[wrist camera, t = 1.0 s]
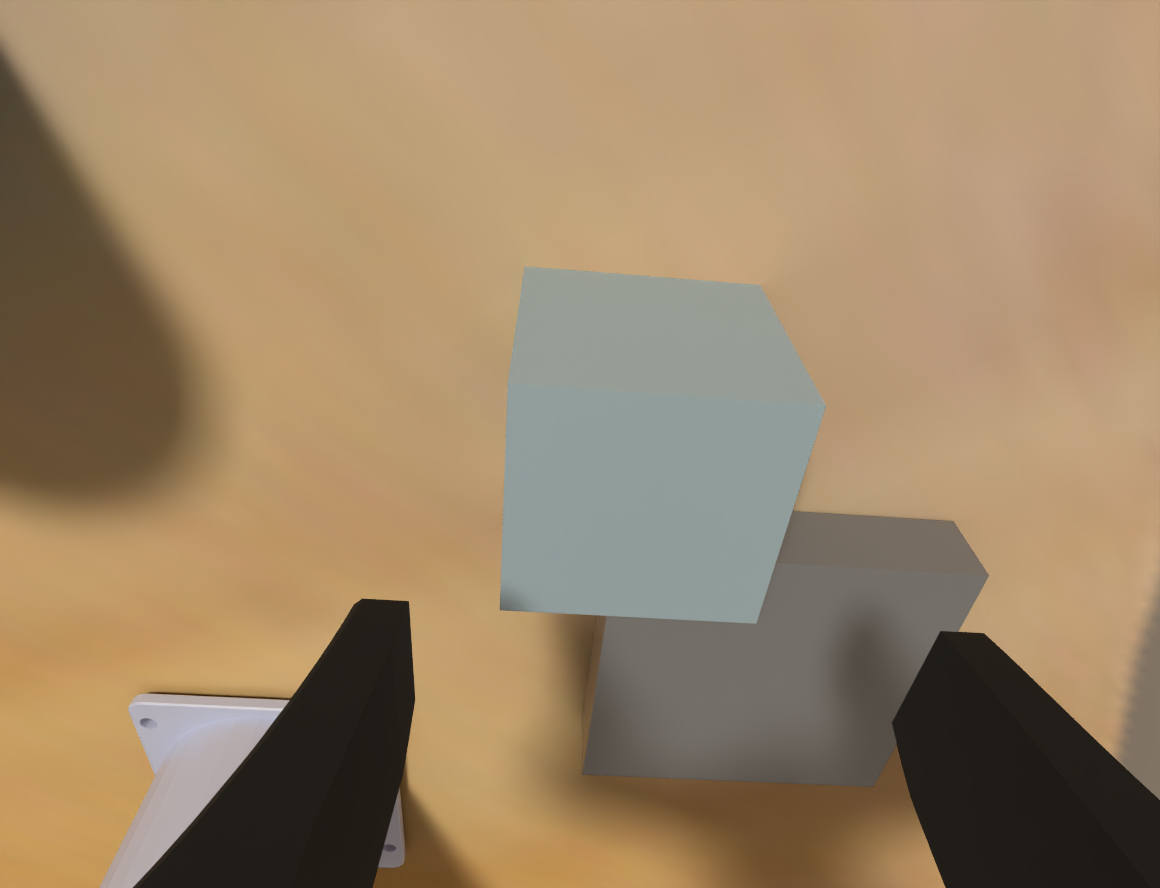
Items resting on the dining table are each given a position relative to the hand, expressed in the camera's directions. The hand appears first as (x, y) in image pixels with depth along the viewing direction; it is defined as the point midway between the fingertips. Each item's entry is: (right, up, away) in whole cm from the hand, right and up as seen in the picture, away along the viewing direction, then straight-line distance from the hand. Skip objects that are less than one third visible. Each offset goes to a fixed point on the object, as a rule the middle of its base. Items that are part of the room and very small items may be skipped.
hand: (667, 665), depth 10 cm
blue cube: (0, +5, +7) cm, 8 cm away
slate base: (+4, -2, +11) cm, 12 cm away
